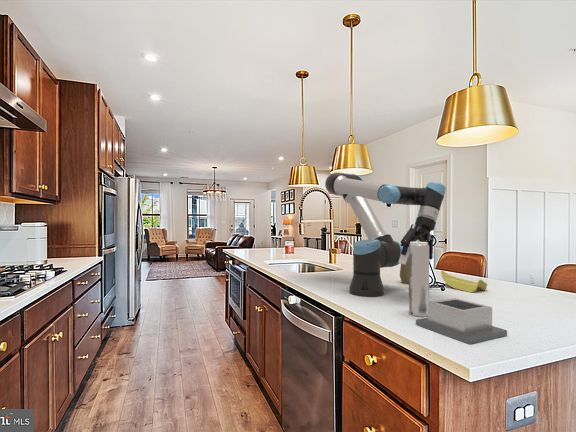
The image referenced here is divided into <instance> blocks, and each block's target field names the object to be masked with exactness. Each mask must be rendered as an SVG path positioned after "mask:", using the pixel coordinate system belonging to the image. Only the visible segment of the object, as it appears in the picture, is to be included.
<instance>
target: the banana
mask: <svg viewBox="0 0 576 432" xmlns="http://www.w3.org/2000/svg"><path fill="white" fill-rule="evenodd" d="M440 273H441V274H440V275H441V278H442V280H443V281H444V283H445V284H446V285H447V286H449V287H451V288H454V289H456V290H458V291H459V290H460V291H463V292H467V293H471V294H472V293H475V292H476V291H477V290H479V291H483V292H485V291H486V290H487V287H488V284H487V283H486V282H485V281H484V280H482V279H478V281H477V282H475V281H472V280H468V279H464V278H460V277H456V276H454V275H451V274H448V273H446V271H444V270H441V271H440Z"/></svg>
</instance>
